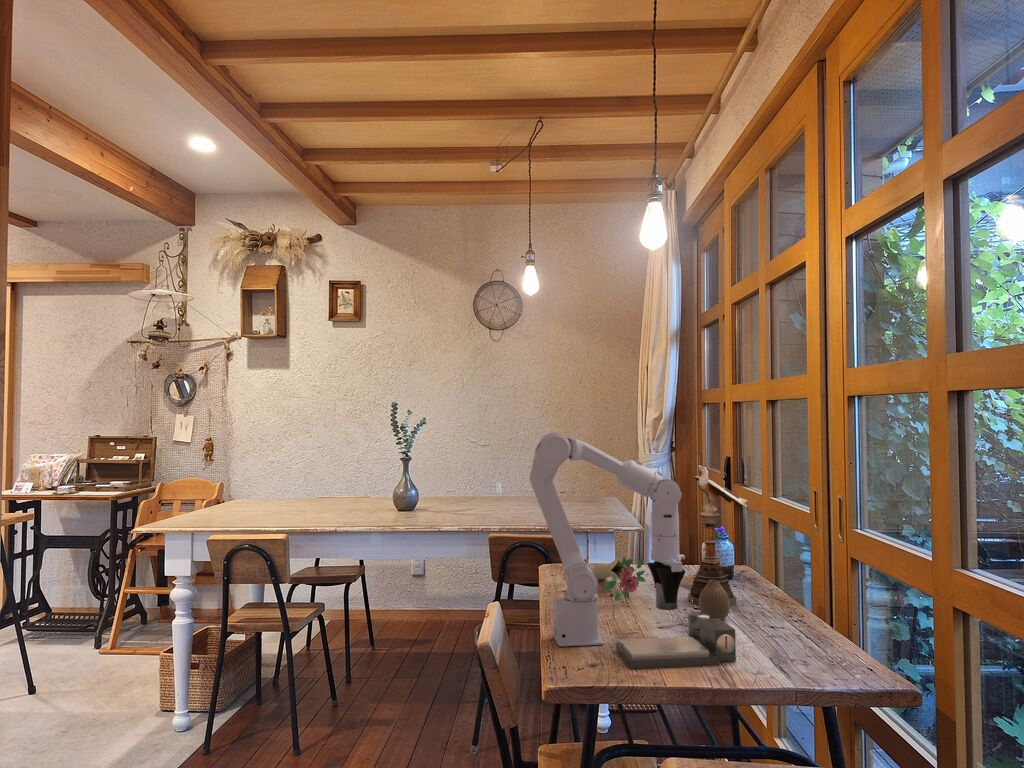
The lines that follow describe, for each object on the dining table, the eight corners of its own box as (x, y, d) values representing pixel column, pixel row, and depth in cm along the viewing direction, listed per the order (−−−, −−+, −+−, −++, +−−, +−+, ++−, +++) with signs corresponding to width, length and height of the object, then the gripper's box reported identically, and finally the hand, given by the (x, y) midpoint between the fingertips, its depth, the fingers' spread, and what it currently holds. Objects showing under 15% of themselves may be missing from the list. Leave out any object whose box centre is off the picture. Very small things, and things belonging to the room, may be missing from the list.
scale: (630, 669, 134) (630, 636, 134) (615, 650, 145) (615, 620, 145) (739, 664, 136) (738, 631, 137) (716, 646, 147) (715, 616, 148)
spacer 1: (660, 610, 150) (659, 586, 150) (653, 605, 154) (653, 581, 154) (680, 609, 150) (680, 585, 150) (673, 604, 155) (673, 580, 155)
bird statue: (744, 594, 191) (741, 461, 193) (761, 607, 178) (757, 464, 179) (681, 594, 191) (679, 462, 193) (694, 607, 178) (691, 465, 180)
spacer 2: (693, 642, 150) (692, 617, 150) (685, 636, 155) (685, 612, 155) (713, 641, 151) (712, 617, 151) (705, 635, 155) (704, 611, 155)
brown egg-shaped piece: (709, 624, 163) (708, 585, 164) (693, 616, 170) (692, 578, 170) (736, 621, 165) (735, 583, 166) (719, 614, 172) (718, 576, 172)
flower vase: (614, 606, 208) (655, 609, 175) (574, 595, 208) (607, 596, 174) (623, 566, 212) (664, 561, 179) (583, 554, 211) (617, 547, 178)
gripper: (695, 539, 146) (697, 607, 145) (672, 529, 161) (673, 591, 160) (662, 540, 145) (663, 608, 145) (641, 529, 160) (642, 592, 159)
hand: (666, 599), depth 152 cm, fingers closed on spacer 1, 4 cm apart
